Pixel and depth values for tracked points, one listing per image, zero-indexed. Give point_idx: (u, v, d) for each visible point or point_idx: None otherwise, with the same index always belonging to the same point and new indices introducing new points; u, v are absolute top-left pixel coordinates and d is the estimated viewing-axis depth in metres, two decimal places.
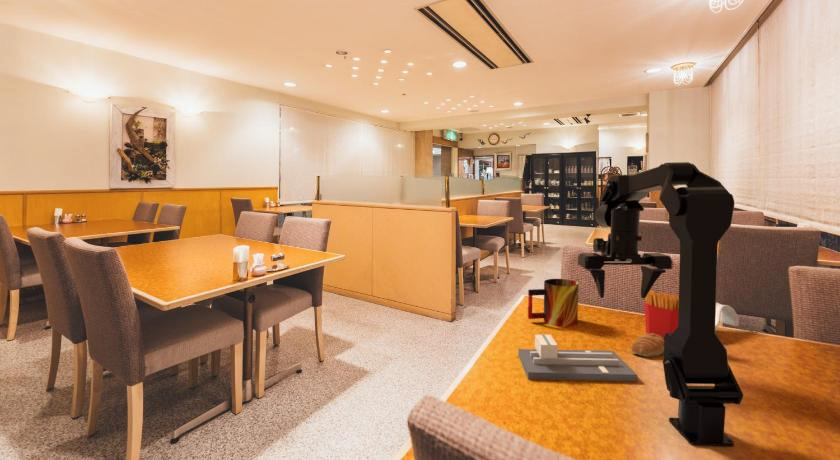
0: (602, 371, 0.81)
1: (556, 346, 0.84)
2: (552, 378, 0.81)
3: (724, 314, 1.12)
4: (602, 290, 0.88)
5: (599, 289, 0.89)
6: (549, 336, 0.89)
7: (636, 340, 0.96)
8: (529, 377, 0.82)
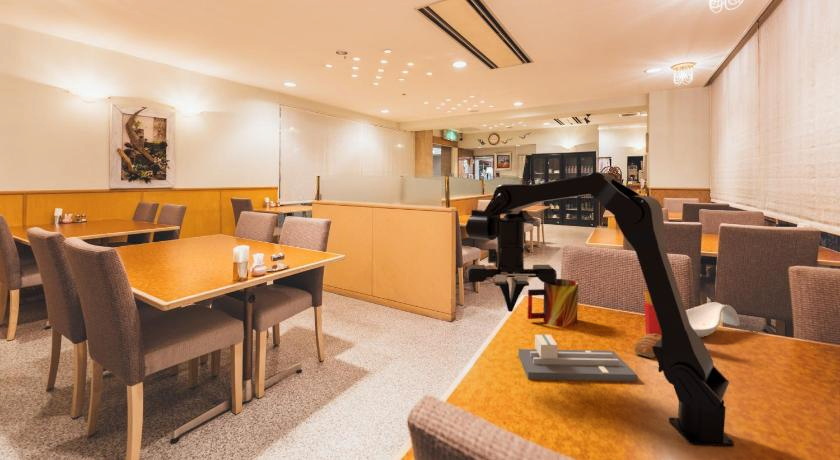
0: (602, 371, 0.81)
1: (556, 346, 0.84)
2: (552, 378, 0.81)
3: (725, 314, 1.12)
4: (508, 304, 0.85)
5: (506, 302, 0.86)
6: (549, 336, 0.89)
7: (639, 340, 0.95)
8: (529, 377, 0.82)
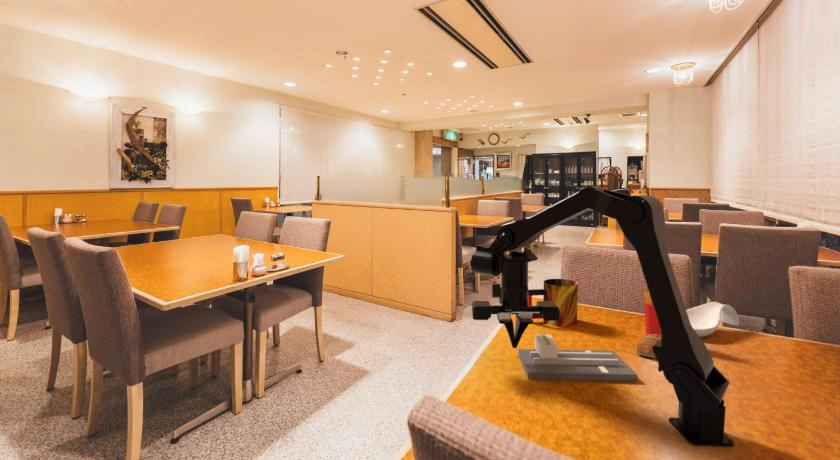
0: (602, 371, 0.81)
1: (556, 346, 0.84)
2: (552, 378, 0.81)
3: (724, 314, 1.13)
4: (512, 341, 0.86)
5: (510, 339, 0.86)
6: (549, 336, 0.89)
7: (640, 341, 0.95)
8: (529, 377, 0.82)
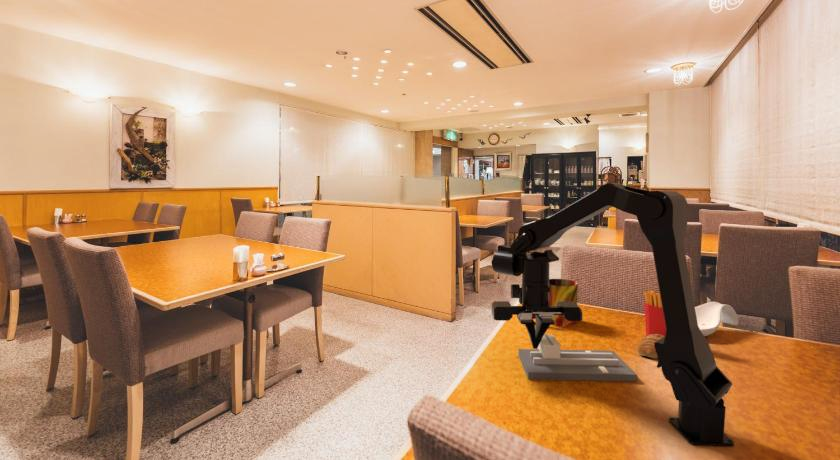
0: (602, 371, 0.81)
1: (559, 346, 0.83)
2: (552, 378, 0.81)
3: (723, 313, 1.13)
4: (533, 341, 0.85)
5: (531, 340, 0.86)
6: (552, 336, 0.88)
7: (642, 341, 0.95)
8: (529, 377, 0.82)
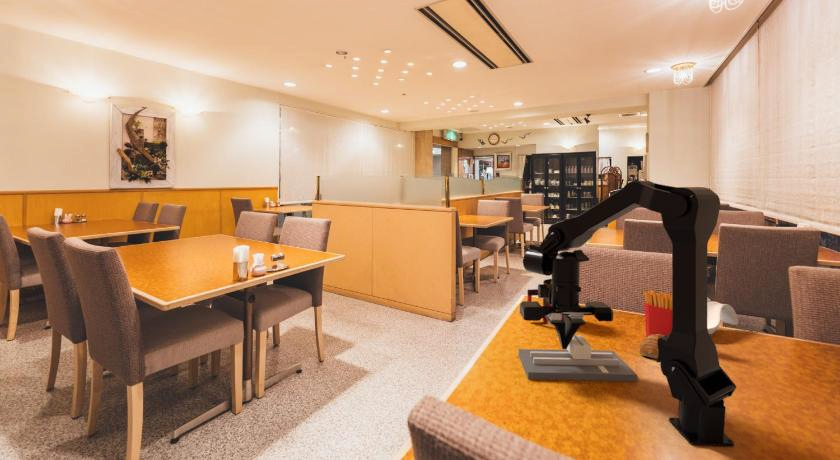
0: (602, 371, 0.81)
1: (589, 347, 0.83)
2: (552, 378, 0.81)
3: (723, 313, 1.13)
4: (563, 341, 0.85)
5: (560, 340, 0.85)
6: (580, 336, 0.88)
7: (643, 341, 0.95)
8: (529, 377, 0.82)
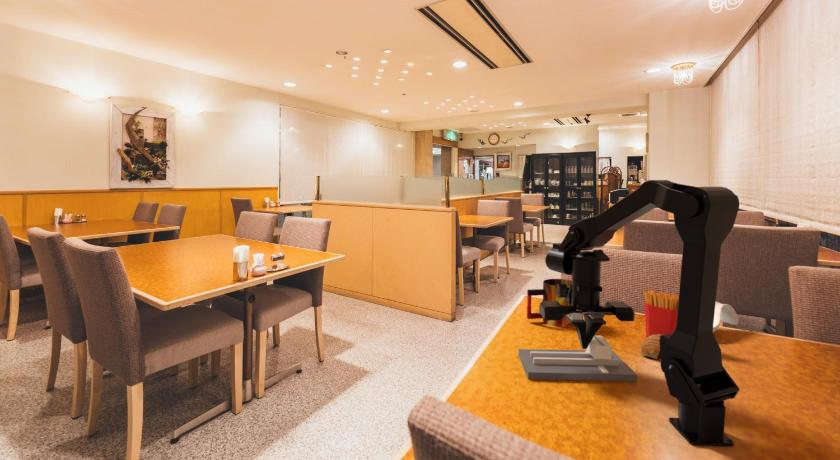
0: (602, 371, 0.81)
1: (610, 347, 0.83)
2: (552, 378, 0.81)
3: (723, 313, 1.13)
4: (584, 341, 0.85)
5: (580, 340, 0.85)
6: (600, 337, 0.88)
7: (645, 342, 0.94)
8: (529, 377, 0.82)
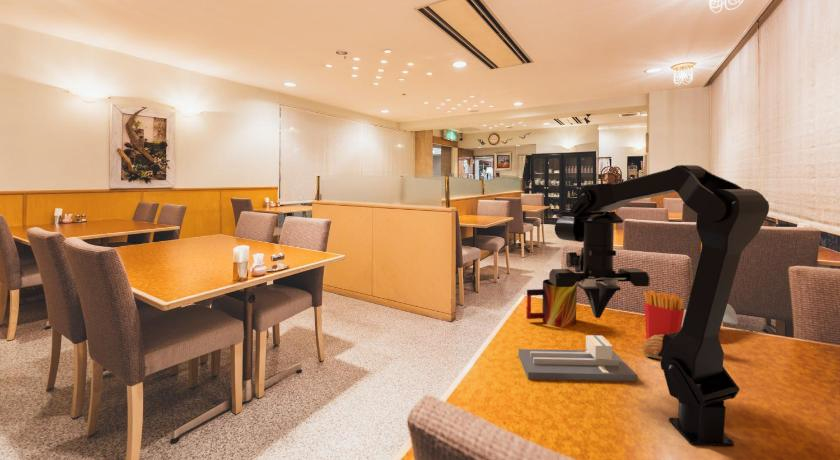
0: (602, 371, 0.81)
1: (611, 347, 0.83)
2: (552, 378, 0.81)
3: None
4: (597, 309, 0.81)
5: (593, 308, 0.81)
6: (601, 337, 0.88)
7: (647, 342, 0.94)
8: (529, 377, 0.82)
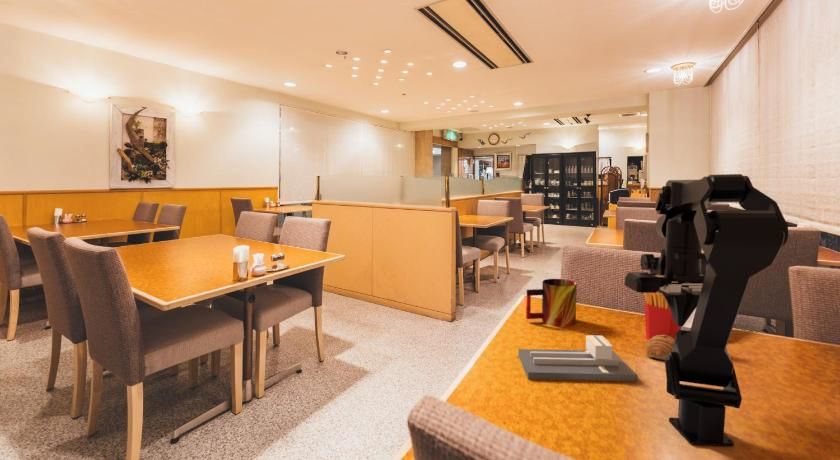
0: (602, 371, 0.81)
1: (611, 347, 0.83)
2: (552, 378, 0.81)
3: None
4: (680, 317, 0.74)
5: (676, 316, 0.74)
6: (601, 337, 0.88)
7: (649, 342, 0.94)
8: (529, 377, 0.82)
